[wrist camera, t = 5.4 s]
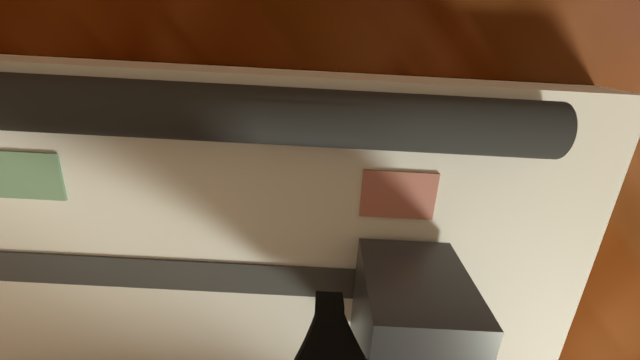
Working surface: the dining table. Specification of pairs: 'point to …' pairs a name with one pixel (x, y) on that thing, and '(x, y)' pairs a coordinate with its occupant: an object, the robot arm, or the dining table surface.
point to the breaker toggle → (419, 304)
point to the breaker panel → (285, 223)
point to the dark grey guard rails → (286, 116)
